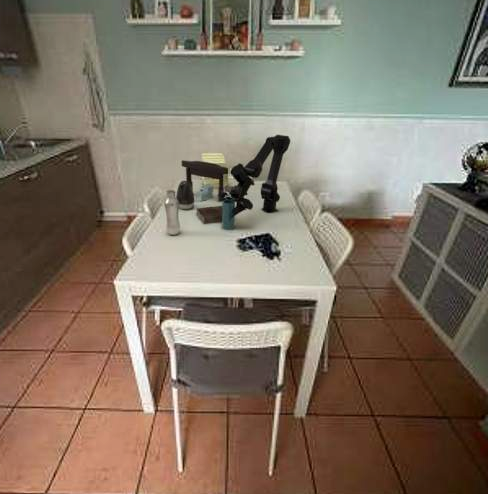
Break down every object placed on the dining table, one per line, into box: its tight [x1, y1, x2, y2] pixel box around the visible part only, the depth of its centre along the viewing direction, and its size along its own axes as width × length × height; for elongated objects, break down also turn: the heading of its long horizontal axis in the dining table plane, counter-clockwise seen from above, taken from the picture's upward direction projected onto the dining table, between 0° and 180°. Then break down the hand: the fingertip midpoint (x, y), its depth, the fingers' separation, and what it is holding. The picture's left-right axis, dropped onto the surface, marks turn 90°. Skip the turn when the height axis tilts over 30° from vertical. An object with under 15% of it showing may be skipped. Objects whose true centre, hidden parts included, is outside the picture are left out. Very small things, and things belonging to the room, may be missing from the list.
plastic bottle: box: [163, 189, 182, 236], centre depth 146 cm, size 6×7×20 cm
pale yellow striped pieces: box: [201, 152, 231, 188], centre depth 217 cm, size 30×16×18 cm, turn 7°
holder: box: [195, 205, 222, 225], centre depth 168 cm, size 14×14×3 cm
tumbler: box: [221, 200, 236, 231], centre depth 155 cm, size 6×6×13 cm
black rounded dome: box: [175, 180, 196, 210], centre depth 177 cm, size 10×10×15 cm
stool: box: [181, 160, 228, 203], centre depth 191 cm, size 16×21×33 cm
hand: (226, 215), depth 154 cm, fingers closed on tumbler, 6 cm apart
